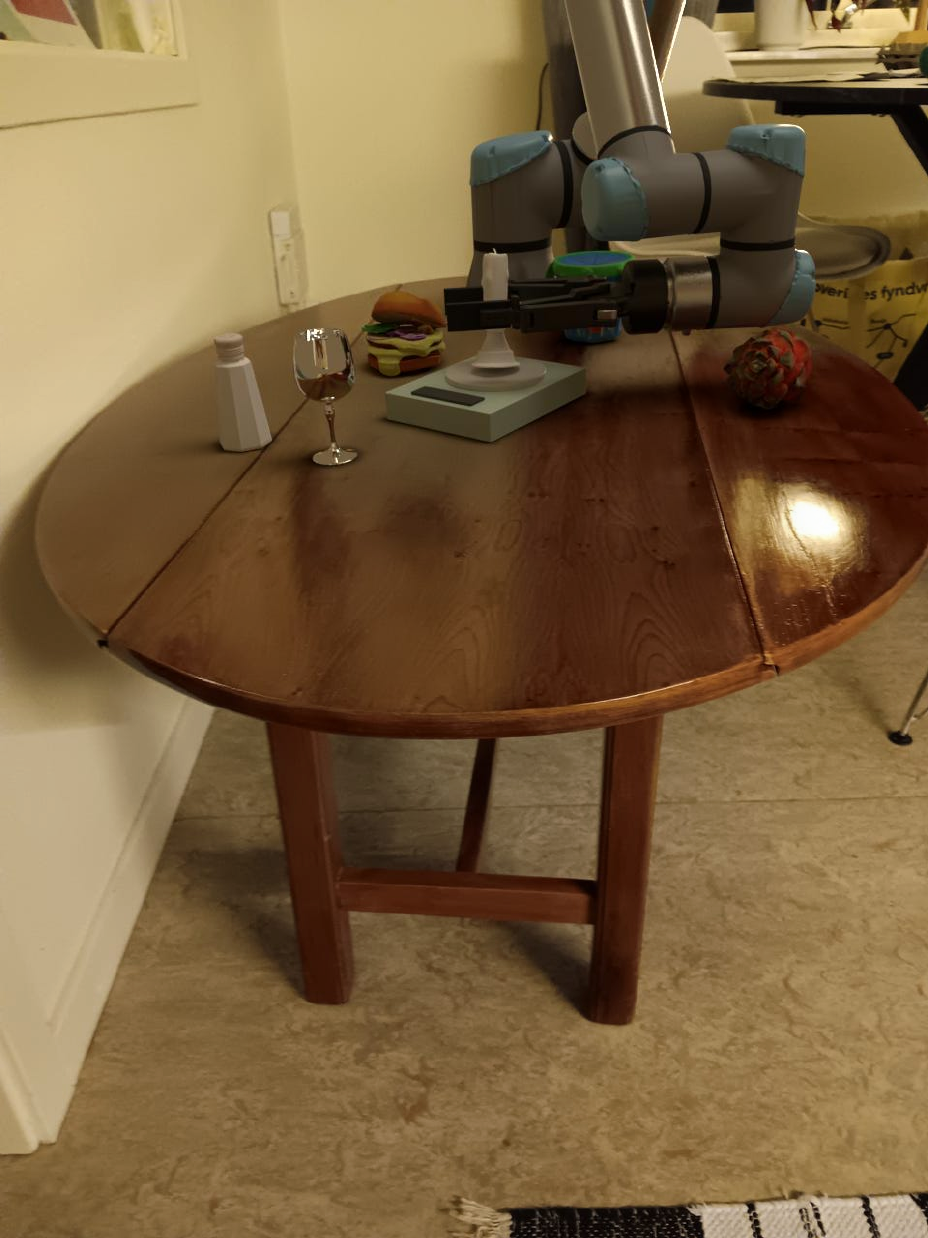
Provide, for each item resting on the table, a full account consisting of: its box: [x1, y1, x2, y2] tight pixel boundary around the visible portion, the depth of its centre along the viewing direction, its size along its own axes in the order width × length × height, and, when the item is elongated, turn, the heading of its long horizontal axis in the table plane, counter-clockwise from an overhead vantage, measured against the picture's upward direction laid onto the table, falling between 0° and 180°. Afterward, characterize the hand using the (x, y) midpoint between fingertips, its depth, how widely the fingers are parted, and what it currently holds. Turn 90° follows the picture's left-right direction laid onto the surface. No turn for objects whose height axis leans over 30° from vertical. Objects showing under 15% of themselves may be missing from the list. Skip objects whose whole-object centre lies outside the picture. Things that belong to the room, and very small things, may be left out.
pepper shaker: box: [213, 332, 273, 453], centre depth 96 cm, size 5×5×11 cm
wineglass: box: [292, 327, 359, 466], centre depth 91 cm, size 6×6×12 cm
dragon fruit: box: [723, 325, 813, 410], centre depth 100 cm, size 8×8×12 cm
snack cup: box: [545, 250, 636, 344], centre depth 125 cm, size 16×10×10 cm
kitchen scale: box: [384, 354, 587, 443], centre depth 104 cm, size 18×14×4 cm
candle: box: [471, 248, 520, 368], centre depth 102 cm, size 5×5×12 cm
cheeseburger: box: [361, 290, 447, 377], centre depth 119 cm, size 10×11×10 cm
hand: (445, 309), depth 101 cm, fingers open, 6 cm apart
